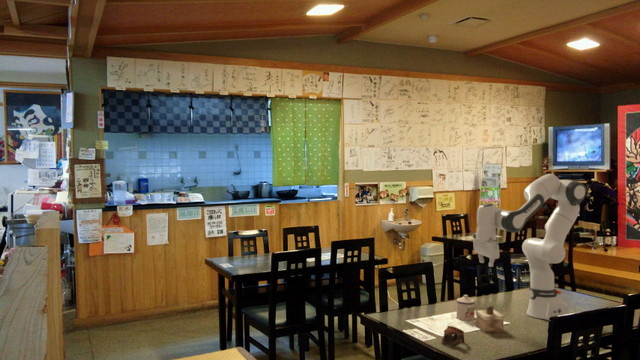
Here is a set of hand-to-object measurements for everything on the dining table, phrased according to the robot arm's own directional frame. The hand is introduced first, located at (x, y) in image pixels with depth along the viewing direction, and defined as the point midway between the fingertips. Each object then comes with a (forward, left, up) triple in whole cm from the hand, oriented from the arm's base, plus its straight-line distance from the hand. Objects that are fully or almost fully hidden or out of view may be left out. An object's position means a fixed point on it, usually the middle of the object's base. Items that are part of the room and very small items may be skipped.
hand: (486, 264), depth 246 cm
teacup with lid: (+7, -6, -28) cm, 29 cm away
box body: (+4, +12, -28) cm, 31 cm away
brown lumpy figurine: (+28, +29, -28) cm, 49 cm away
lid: (+4, +12, -22) cm, 25 cm away
